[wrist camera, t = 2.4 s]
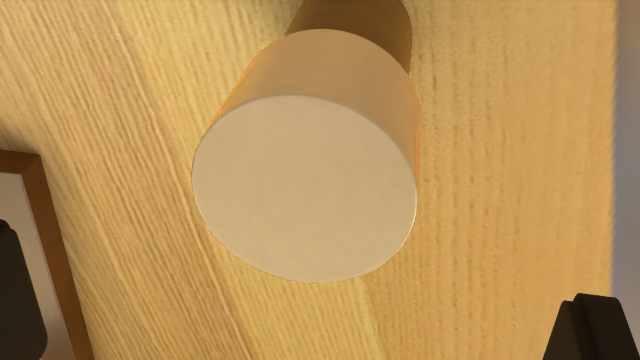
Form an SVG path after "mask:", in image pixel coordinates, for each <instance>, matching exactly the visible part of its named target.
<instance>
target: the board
mask: <svg viewBox="0 0 640 360" xmlns="http://www.w3.org/2000/svg"><path fill="white" fill-rule="evenodd" d="M0 219H3V220H5V221H6V222H7V223H8V224H9V226H10V228H11V229H14V230H15V231H16V233H17V235H18V238H19V241H20V244H21V248H22V251H23V254H24V258H25V261H26V264H27V268H28V271H29V274H30V278H31V281H32V284H33V288H34V291H35V294H36V298H37V301H38V304H39V308H40V311H41V314H42V318H43V321H44V324H45V328H46V331H47V335H48V342H47V347H46V349H45V352H44V354H43V356H42V357H41V359H40V360H94V356H93V353H92V349H91V345H90V341H89V338H88V334H87V330H86V326H85V323H84V319H83V315H82V312H81V308H80V304H79V300H78V297H77V293H76V289H75V285H74V282H73V278H72V274H71V270H70V267H69V263H68V259H67V255H66V252H65V248H64V244H63V241H62V237H61V233H60V229H59V226H58V222H57V218H56V214H55V211H54V207H53V203H52V199H51V196H50V192H49V188H48V184H47V181H46V177H45V173H44V170H43V166H42V162H41V158H40V156H39V155H37V154H28V153H19V152H10V151H1V150H0Z"/></svg>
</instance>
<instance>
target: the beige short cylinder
mask: <svg viewBox="0 0 640 360" xmlns="http://www.w3.org/2000/svg"><path fill="white" fill-rule="evenodd" d="M420 137H421V109H420V104H419V99H418V95H417V93H416V90H415V88H414V85H413V83H412V81H411V80H410V78H409V76H408V74H407V73H406V72H405V70H404V69H403V68H402V66H401V65H400V64H399V63H398V62H397V61H396V60H395V59H394V58H393V57H392V56H391V55H390V54H389V53H388V52H386V51H385V50H384V49H382V48H381V47H380V46H378V45H376V44H374V43H373V42H371V41H369V40H367V39H365V38H362V37H360V36H358V35H355V34H351V33H348V32H344V31H338V30H332V29H312V30H304V31H300V32H296V33H292V34H289V35H287V36H284V37H282V38H279V39H278V40H276V41H274V42H272V43H271V44H269V45H268V46H266V47H265V48H264V49H263V50H261V51H260V52H259V53H258V54H257V55H256V56H255V57H254V58H253V59H252V61H251V62H250V64H249V65H248V67H247V68H246V69H245V71H244V73H243V74H242V76H241V77H240V79H239V80H238V82H237V83H236V85H235V87H234V88H233V90H232V91H231V93H230V94H229V96H228V97H227V99H226V101H225V102H224V104H223V105H222V107H221V108H220V110H219V111H218V113H217V115H216V116H215V118H214V119H213V121H212V122H211V124H210V125H209V127H208V129H207V130H206V132H205V133H204V135H203V136H202V138H201V140H200V142H199V144H198V146H197V148H196V151H195V155H194V158H193V163H192V171H191V177H192V189H193V195H194V199H195V202H196V205H197V208H198V211H199V213H200V215H201V217H202V219H203V221H204V222H205V224H206V225H207V227H208V228H209V230H210V231H211V233H212V234H213V235H214V236H215V237H216V239H217V240H218V241H219V242H220V243H221V244H222V245H223V246H224V247H225V248H226V249H227V250H228V251H230V252H231V253H232V254H233V255H235V256H236V257H237V258H239V259H240V260H242V261H243V262H245V263H247V264H248V265H250V266H252V267H254V268H256V269H258V270H260V271H262V272H264V273H267V274H270V275H272V276H275V277H278V278H282V279H286V280H290V281H296V282H302V283H333V282H341V281H345V280H349V279H353V278H356V277H359V276H362V275H365V274H367V273H369V272H371V271H373V270H375V269H377V268H378V267H380V266H381V265H383V264H384V263H385V262H387V261H388V260H389V259H390V258H391V257H392V256H394V255H395V254H396V253H397V251H398V250H399V249H400V248H401V247H402V245H403V244H404V243H405V241H406V239H407V238H408V236H409V234H410V232H411V230H412V228H413V225H414V223H415V219H416V214H417V208H418V189H419V163H420Z"/></svg>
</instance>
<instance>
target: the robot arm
mask: <svg viewBox="0 0 640 360" xmlns="http://www.w3.org/2000/svg"><path fill="white" fill-rule="evenodd" d="M47 342H48V335H47V331H46V328H45V324H44V321H43V318H42V314H41V311H40V308H39V304H38V301H37V298H36V294H35V291H34V288H33V284H32V281H31V278H30V274H29V271H28V268H27V264H26V261H25V258H24V254H23V251H22V248H21V244H20V241H19V238H18V235H17V233H16V231H15V230H14V229H11V228H10V226H9V224H8V223H7V222H6V221H5V220H3V219H0V360H40V359H41V357H42V356H43V354H44V352H45V349H46V347H47ZM543 360H640V356H639V353H638V350H637V348H636V345H635V342H634V339H633V337H632V334H631V331H630V328H629V325H628V323H627V320H626V317H625V314H624V312H623V309H622V306H621V304H620V302H619V300H618V299H617V298H614V297H606V296H598V295H590V294H582V293H578V294H577V295H576V296H575V298H574V300H573V301H563V302H562V304H561V306H560V309H559V312H558V315H557V318H556V321H555V324H554V327H553V330H552V333H551V336H550V339H549V342H548V345H547V348H546V351H545V354H544V357H543Z"/></svg>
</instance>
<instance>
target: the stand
mask: <svg viewBox="0 0 640 360" xmlns="http://www.w3.org/2000/svg"><path fill="white" fill-rule="evenodd" d="M312 29H332V30H338V31H344V32H348V33H351V34H355V35H358V36H360V37H362V38H365V39H367V40H369V41H371V42H373V43H374V44H376V45H378V46H380V47H381V48H382V49H384V50H385V51H386V52H388V53H389V54H390V55H391V56H392V57H393V58H394V59H395V60H396V61H397V62H398V63H399V64H400V65H401V66H402V68H403V69H404V70H405V72H406V73H407V74H408V76H409V71H410V59H411V47H412V27H411V22H410V18H409V16H408V13H407V11H406V9H405V7H404V5H403V4H402V3H401V1H400V0H305V1H304V2H303V4H302V5H301V7H300V9H299V10H298V12H297V14H296V15H295V17H294V19H293V21H292V22H291V24H290V26H289V28H288V29H287V31H286V33H285V35H284V36H287V35H289V34H292V33H296V32H300V31H304V30H312ZM284 36H283V37H284Z"/></svg>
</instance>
